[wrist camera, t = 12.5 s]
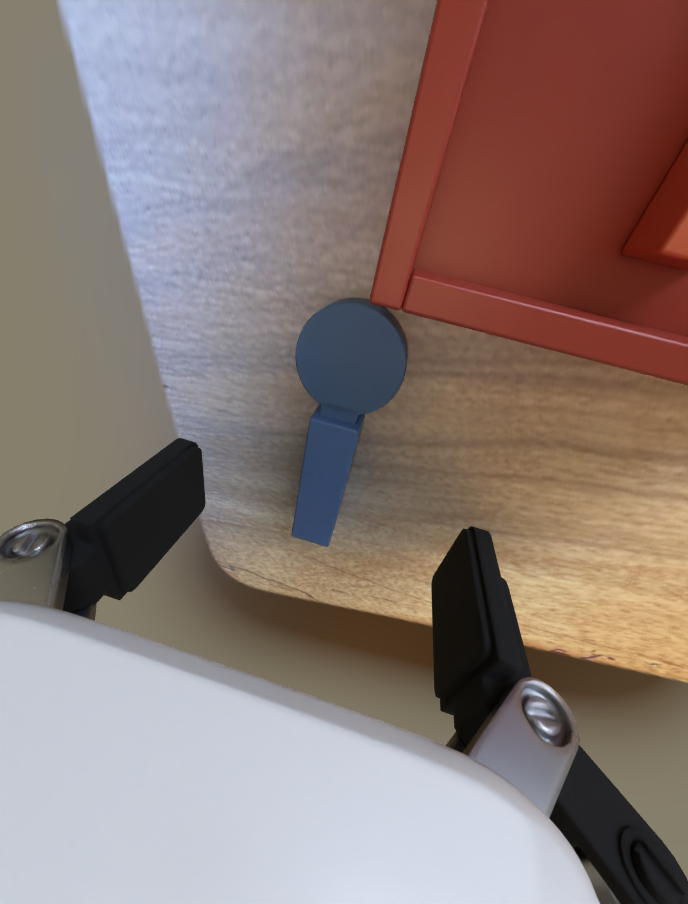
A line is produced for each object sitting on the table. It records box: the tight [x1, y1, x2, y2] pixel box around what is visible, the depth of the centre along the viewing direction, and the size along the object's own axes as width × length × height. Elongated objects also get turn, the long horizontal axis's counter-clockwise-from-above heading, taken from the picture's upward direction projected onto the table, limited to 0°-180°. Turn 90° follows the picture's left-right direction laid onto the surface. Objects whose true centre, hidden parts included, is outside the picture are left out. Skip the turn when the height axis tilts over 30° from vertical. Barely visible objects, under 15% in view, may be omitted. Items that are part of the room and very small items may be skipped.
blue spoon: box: [292, 298, 407, 547], centre depth 11 cm, size 9×3×1 cm, turn 168°
